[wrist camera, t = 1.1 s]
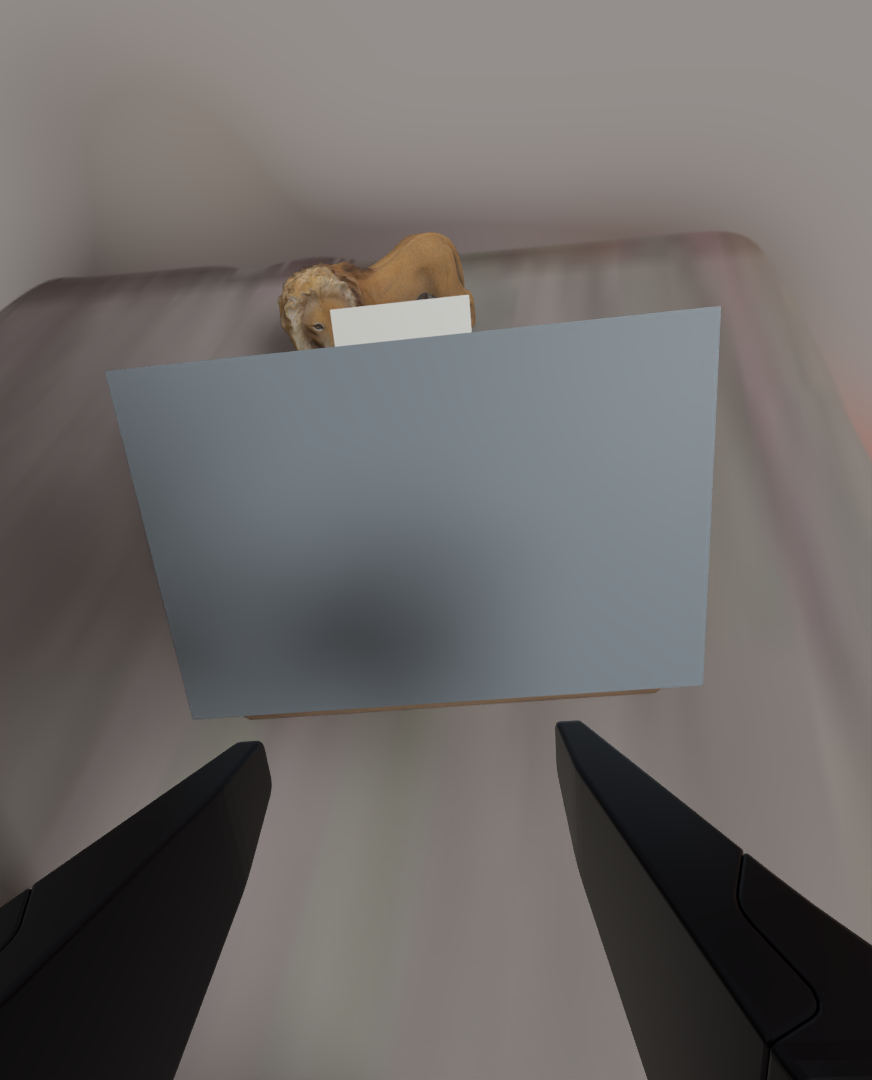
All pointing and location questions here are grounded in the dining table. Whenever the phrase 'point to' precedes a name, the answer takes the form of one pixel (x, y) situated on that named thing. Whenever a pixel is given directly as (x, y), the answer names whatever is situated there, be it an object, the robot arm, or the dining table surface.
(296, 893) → the dining table surface
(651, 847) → the robot arm
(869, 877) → the dining table surface
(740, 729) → the dining table surface
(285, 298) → the lion figurine
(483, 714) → the dining table surface
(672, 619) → the lid
